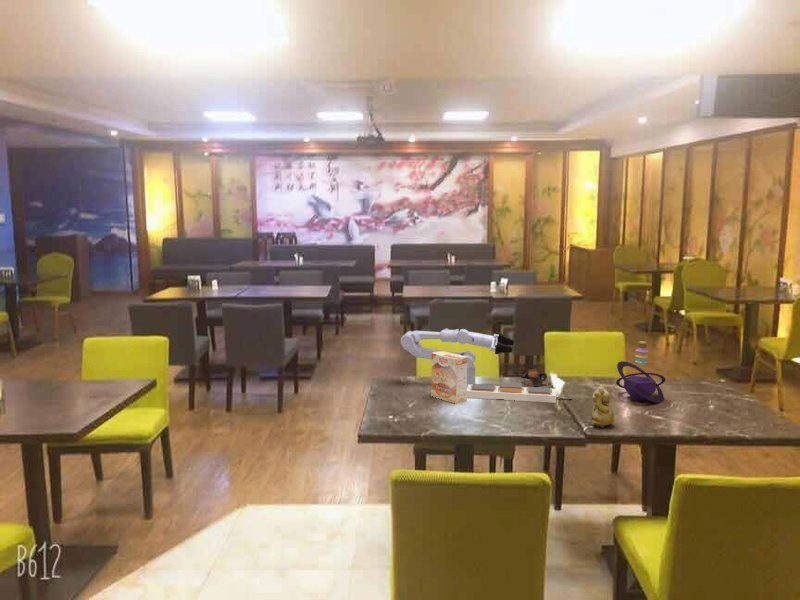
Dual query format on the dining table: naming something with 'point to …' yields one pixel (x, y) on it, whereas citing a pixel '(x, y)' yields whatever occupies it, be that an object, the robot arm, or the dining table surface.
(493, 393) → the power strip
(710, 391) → the dining table surface
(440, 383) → the coffeecake box
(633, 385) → the decorative bottle
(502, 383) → the middle button
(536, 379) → the brown grey irregular piece
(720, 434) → the dining table surface
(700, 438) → the dining table surface
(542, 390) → the right button
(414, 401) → the dining table surface
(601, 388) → the decorative figurine
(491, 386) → the left button
